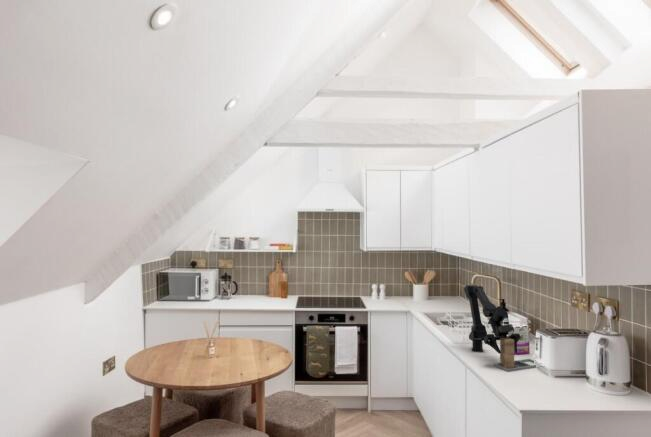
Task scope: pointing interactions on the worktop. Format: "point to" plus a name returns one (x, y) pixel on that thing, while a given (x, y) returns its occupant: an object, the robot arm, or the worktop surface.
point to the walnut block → (507, 353)
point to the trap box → (518, 365)
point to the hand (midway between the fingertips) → (508, 353)
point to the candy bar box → (524, 340)
